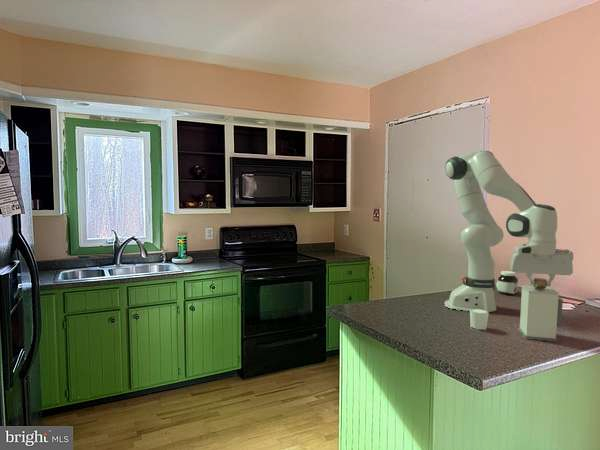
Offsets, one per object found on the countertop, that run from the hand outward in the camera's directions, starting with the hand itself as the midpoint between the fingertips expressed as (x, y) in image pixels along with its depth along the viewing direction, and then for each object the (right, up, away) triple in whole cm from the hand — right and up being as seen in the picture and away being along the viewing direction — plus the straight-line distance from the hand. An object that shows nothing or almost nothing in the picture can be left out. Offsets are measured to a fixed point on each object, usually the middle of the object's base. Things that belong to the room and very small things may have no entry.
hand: (539, 285), depth 154 cm
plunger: (0, -18, +1) cm, 18 cm away
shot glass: (-19, -19, +10) cm, 28 cm away
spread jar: (+21, -14, +67) cm, 72 cm away
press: (+1, -19, +1) cm, 19 cm away
